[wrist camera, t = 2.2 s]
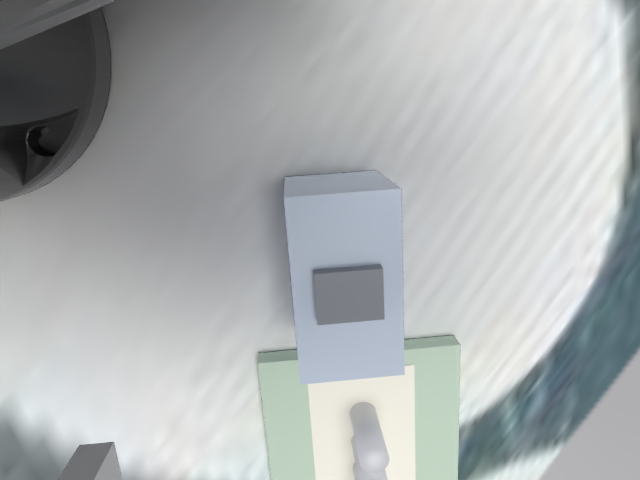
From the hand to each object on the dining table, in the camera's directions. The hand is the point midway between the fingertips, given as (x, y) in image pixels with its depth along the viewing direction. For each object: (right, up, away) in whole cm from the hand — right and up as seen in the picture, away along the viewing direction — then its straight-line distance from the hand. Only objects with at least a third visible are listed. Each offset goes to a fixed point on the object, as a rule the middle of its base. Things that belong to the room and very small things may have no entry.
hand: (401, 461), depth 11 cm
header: (+1, -7, +19) cm, 20 cm away
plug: (-1, +5, +15) cm, 16 cm away
